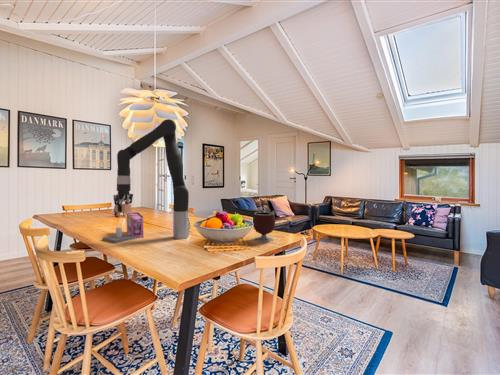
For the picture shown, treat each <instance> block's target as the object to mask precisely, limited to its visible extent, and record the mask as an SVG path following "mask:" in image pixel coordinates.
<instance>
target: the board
mask: <svg viewBox="0 0 500 375" xmlns="http://www.w3.org/2000/svg"><path fill="white" fill-rule="evenodd" d="M131 240H136V238H135V236H130V235H128V234H124V233H123V228H122V226H116V227H115V234H114V235H109V236H105V237H102V241H105V242H109V243H114V244H118V243H123V242H127V241H131Z"/></svg>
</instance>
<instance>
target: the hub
mask: <svg viewBox="0 0 500 375" xmlns="http://www.w3.org/2000/svg"><path fill="white" fill-rule="evenodd" d="M114 205H115V204H114ZM121 206H122V212H118V206H117V205H115V206H114V207H115V208H114V209H115V213H121V214H127V213H132V204H131V203H130V204H125V203H122V205H121Z"/></svg>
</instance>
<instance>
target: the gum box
mask: <svg viewBox="0 0 500 375" xmlns="http://www.w3.org/2000/svg"><path fill="white" fill-rule="evenodd" d="M126 233H127V235H130V236H135V239H140V238H141V239H142V238H144V216H143V215H141V214H140V213H139V212H128V213H126Z"/></svg>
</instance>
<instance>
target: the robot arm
mask: <svg viewBox="0 0 500 375" xmlns="http://www.w3.org/2000/svg"><path fill="white" fill-rule="evenodd" d="M176 129H177V125H176V122H175V121H174V120H173V119H164V120H162V122H161V123H159V125H158V126H157V127H155V128H154V129H153V130H151V131H150V132H148V133H146V134H145V135H143V136H142V137H140V138H138V139H136V140H135V141H132V143H131V144H130V145H129V146H127V147H126V148H123V149H120V150H118V152H117V153H116V160H117V161H116V162H117V171H116V172H117V173H116V175H117V176H116V191H117V194H113V195H112V196H113V201H114V205H117V206H118V212H117V213H120V212H122V206H121V205H122V204H123V203H124V204H130V205H131V204H132V203H133V196H134V194H133V193H130V191H131V182H132V178H131V167H130V164H131V160H132V159H133V158H134V157H136V156H137V155H139V154H140V153H142V152H143V151H145V150H147V149H148V148H150V147H151V146H152V145H153V144H155V142H156V141H158V140H160V139H162V138H163V141H164V142H163V143H164V147H165V148H164V149H165V157H166V158H165V160H166V163H167V167H168V171H169V175H170V177H171V182H172V194H173V195H172V196H173V205H172V211H173V212H172V213H173V215H172V217H173V219H172V220H173V222H172V224H173V225H172V229H173V230H172V237H173V239H176V240H177V239H179V240H182V239H186V238H189V237H190V222H189V202H190V201H189V200H190V199H189V198H190V195H189V190H188V188H187V187H186V184H185V181H184V180H185V179H184V165H183V158H182V154H181V151H180V148H179V146H178V144H177V136H176Z"/></svg>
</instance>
